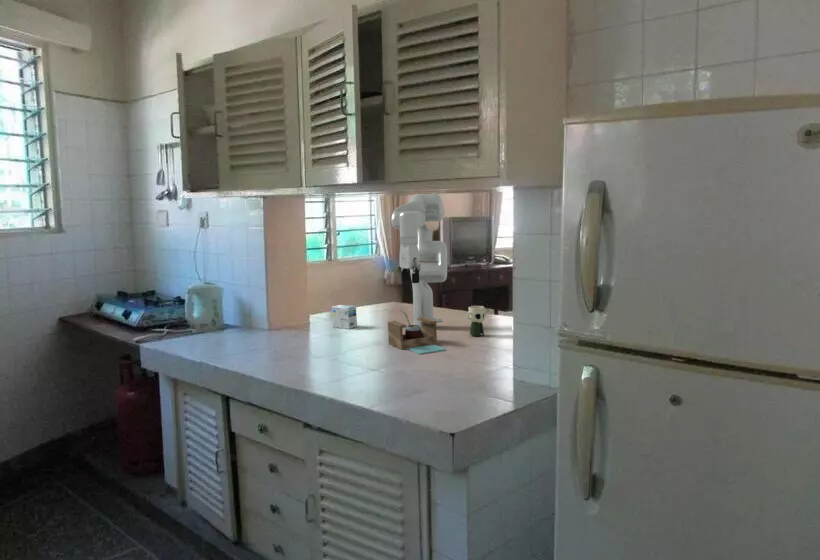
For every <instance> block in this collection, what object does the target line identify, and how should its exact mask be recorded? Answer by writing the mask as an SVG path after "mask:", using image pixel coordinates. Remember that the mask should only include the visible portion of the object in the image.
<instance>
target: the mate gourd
mask: <svg viewBox="0 0 820 560" xmlns="http://www.w3.org/2000/svg"><path fill="white" fill-rule="evenodd" d="M399 311H400V312H402V313H403V314H404V316H405V318H406V321H407V324H408V325H407V327H405V331H404V332H405V333H404V334H405V336H406V340H409V339H416V338H421V335H422V332H421V328H420V326H419V325H413V324H411V323H410V321H409V318H408V315H407V313H406V312H405V311H403V310H402V309H400V310H399Z"/></svg>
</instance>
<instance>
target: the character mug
mask: <svg viewBox="0 0 820 560" xmlns="http://www.w3.org/2000/svg"><path fill="white" fill-rule="evenodd" d="M486 317H487V310H486V309H485V306H484V305H472V306H468V312H466V319H467V320H468V321H469V322H471V323H470V330H469V335H471V336H474V337H475V336H476V337H481V336H485V331H484V325H483V322H484V321H485V319H486Z"/></svg>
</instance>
